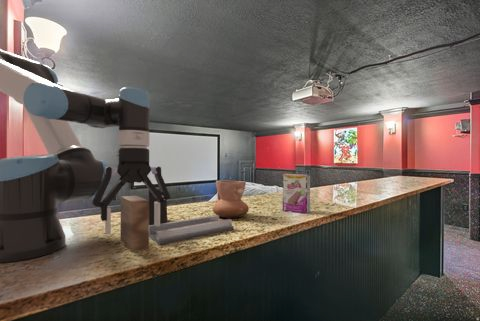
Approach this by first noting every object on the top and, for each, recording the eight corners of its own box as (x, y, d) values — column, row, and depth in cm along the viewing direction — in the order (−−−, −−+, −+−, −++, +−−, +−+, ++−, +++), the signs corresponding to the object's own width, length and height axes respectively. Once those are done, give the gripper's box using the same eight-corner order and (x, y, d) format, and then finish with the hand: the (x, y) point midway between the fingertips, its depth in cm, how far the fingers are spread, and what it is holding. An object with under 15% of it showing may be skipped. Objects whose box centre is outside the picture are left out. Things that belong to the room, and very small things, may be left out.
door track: (159, 245, 64) (159, 233, 64) (146, 235, 73) (146, 224, 73) (233, 229, 79) (233, 220, 79) (215, 222, 88) (215, 214, 88)
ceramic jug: (257, 218, 96) (257, 181, 96) (224, 222, 88) (224, 182, 88) (234, 211, 111) (234, 179, 111) (204, 214, 103) (204, 180, 104)
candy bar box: (282, 211, 109) (282, 174, 109) (286, 209, 113) (286, 173, 113) (307, 214, 103) (307, 175, 103) (310, 212, 107) (310, 174, 107)
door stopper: (167, 224, 85) (167, 189, 86) (148, 226, 83) (149, 190, 83) (164, 218, 94) (165, 187, 94) (148, 220, 92) (148, 187, 92)
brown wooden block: (131, 251, 60) (132, 202, 60) (120, 239, 69) (120, 196, 69) (148, 248, 62) (148, 200, 62) (135, 236, 72) (135, 195, 72)
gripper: (82, 145, 55) (82, 241, 55) (182, 148, 70) (182, 225, 70) (79, 146, 61) (78, 233, 61) (171, 149, 76) (171, 219, 76)
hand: (133, 229), depth 66 cm, fingers open, 12 cm apart
